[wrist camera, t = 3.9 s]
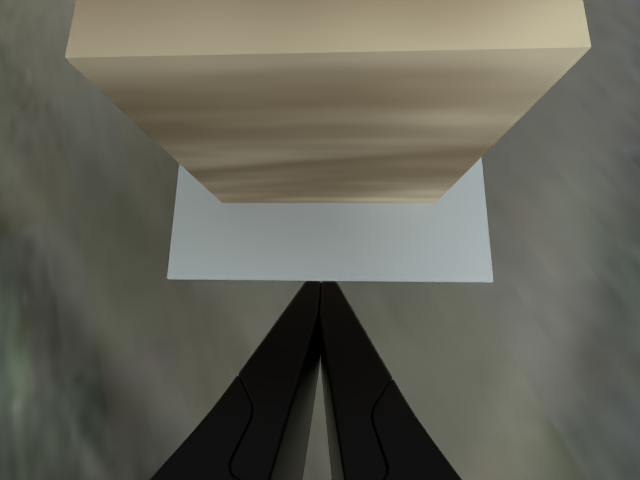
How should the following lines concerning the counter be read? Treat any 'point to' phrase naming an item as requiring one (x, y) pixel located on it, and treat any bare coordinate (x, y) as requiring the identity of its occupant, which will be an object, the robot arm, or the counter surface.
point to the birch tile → (326, 87)
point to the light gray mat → (332, 238)
